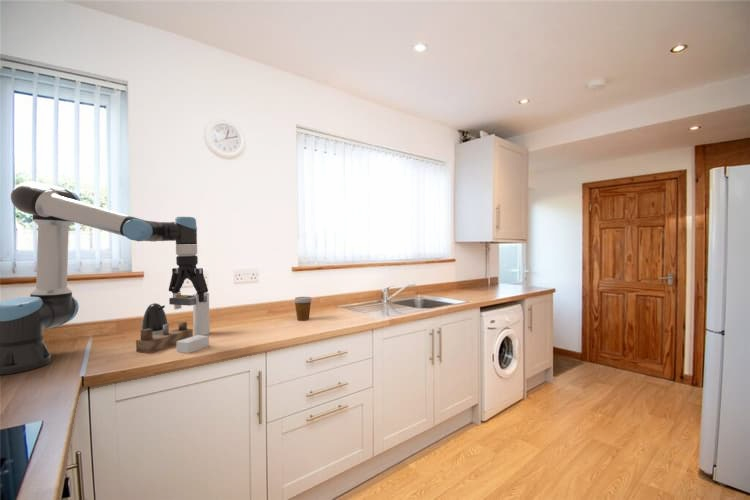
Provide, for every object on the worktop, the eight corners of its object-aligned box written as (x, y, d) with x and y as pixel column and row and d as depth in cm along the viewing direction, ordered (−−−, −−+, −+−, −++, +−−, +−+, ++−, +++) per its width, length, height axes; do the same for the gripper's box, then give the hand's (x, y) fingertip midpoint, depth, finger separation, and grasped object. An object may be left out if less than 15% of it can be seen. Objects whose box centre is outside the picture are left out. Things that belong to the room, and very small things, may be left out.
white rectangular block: (188, 353, 131) (187, 342, 130) (176, 351, 133) (176, 341, 133) (208, 345, 140) (208, 336, 140) (197, 344, 142) (197, 334, 142)
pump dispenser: (155, 340, 149) (155, 305, 148) (135, 339, 151) (135, 305, 151) (173, 334, 159) (173, 301, 158) (155, 333, 161) (154, 301, 161)
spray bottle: (191, 334, 158) (190, 280, 158) (206, 331, 163) (205, 279, 163) (196, 336, 154) (195, 281, 153) (212, 333, 159) (211, 280, 158)
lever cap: (190, 305, 131) (190, 296, 131) (169, 304, 135) (169, 295, 135) (207, 302, 139) (206, 293, 139) (186, 300, 143) (186, 292, 143)
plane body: (148, 353, 131) (148, 331, 131) (136, 351, 133) (135, 329, 133) (192, 339, 150) (192, 320, 149) (181, 337, 152) (180, 319, 152)
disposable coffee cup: (315, 318, 188) (315, 297, 188) (303, 322, 180) (303, 299, 180) (303, 316, 193) (302, 296, 193) (290, 320, 185) (290, 298, 185)
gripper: (217, 254, 136) (218, 309, 137) (173, 255, 144) (175, 306, 144) (201, 255, 129) (203, 312, 130) (157, 255, 137) (158, 309, 137)
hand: (188, 309), depth 137 cm, fingers closed on lever cap, 11 cm apart
